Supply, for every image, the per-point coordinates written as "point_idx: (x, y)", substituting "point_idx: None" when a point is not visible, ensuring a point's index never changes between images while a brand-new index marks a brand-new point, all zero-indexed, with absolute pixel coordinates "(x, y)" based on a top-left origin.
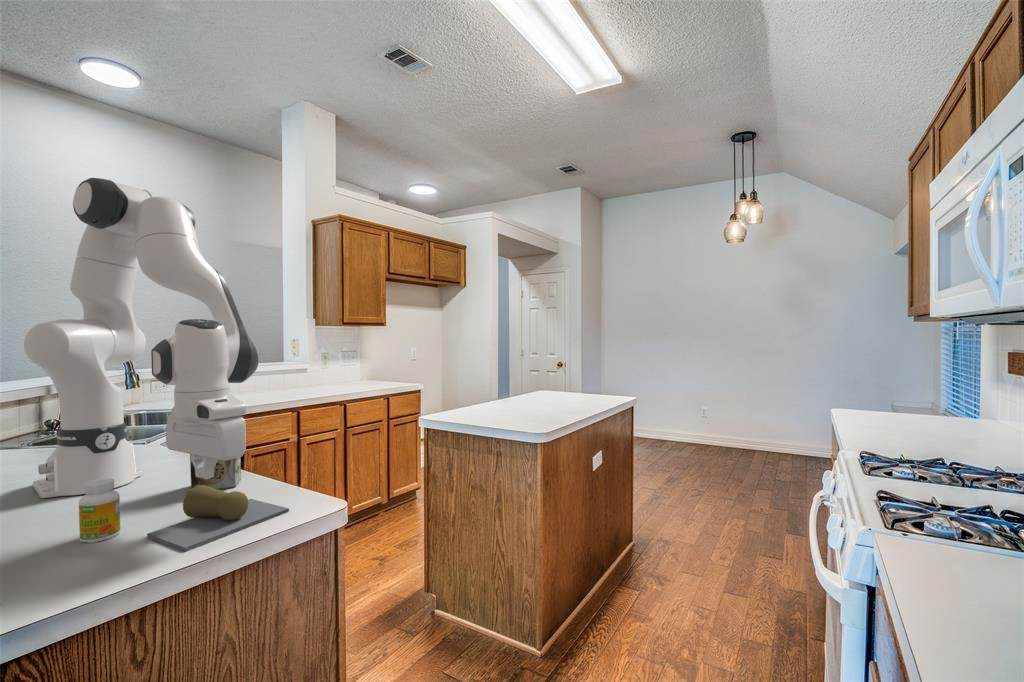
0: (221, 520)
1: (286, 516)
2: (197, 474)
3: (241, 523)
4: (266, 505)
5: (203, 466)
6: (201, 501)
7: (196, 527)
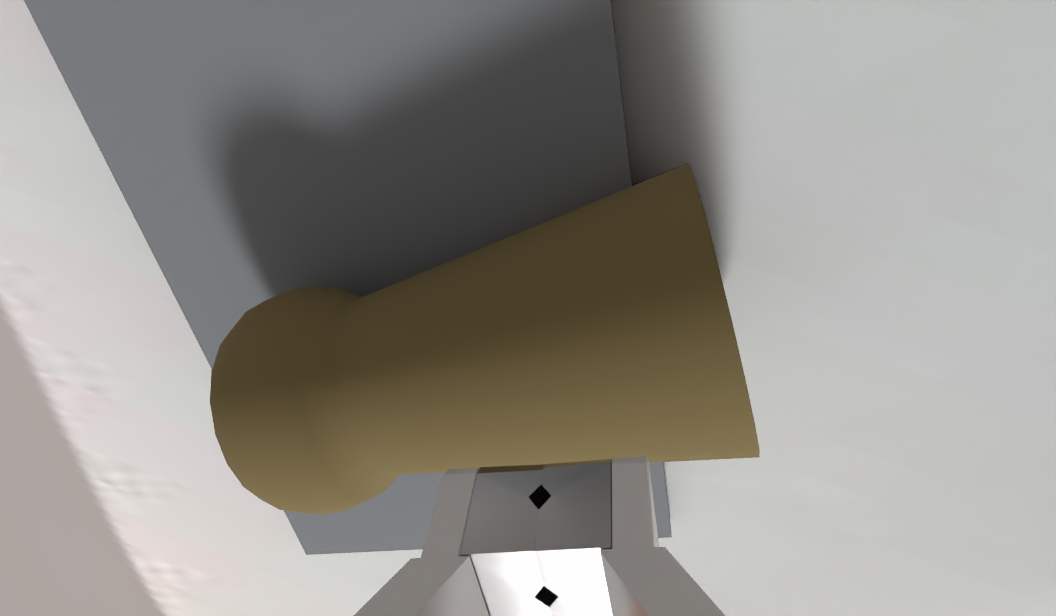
0: None
1: (244, 503)
2: (598, 484)
3: None
4: None
5: (410, 607)
6: (495, 289)
7: (386, 129)
